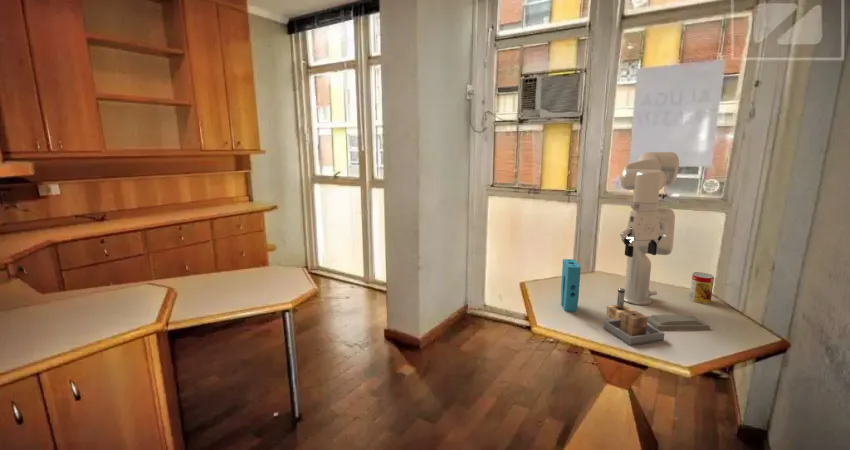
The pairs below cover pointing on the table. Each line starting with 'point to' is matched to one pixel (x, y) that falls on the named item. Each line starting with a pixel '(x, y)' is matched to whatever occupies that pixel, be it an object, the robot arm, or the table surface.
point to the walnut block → (633, 323)
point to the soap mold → (676, 322)
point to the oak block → (616, 311)
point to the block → (570, 285)
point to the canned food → (701, 287)
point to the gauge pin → (620, 298)
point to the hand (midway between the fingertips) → (640, 255)
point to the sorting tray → (649, 337)
